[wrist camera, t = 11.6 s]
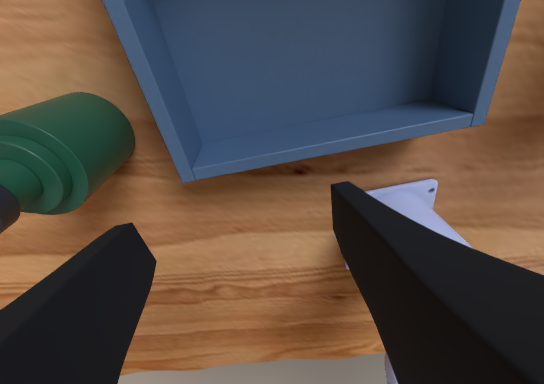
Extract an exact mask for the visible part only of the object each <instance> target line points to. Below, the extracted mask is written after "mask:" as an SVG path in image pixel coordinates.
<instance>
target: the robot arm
mask: <svg viewBox="0 0 544 384" xmlns="http://www.w3.org/2000/svg"><path fill="white" fill-rule="evenodd" d="M437 187H438V182H437V181H436V180H435V179H427V180H422V181H417V182H411V183H406V184H401V185H396V186H390V187H385V188H380V189H374V190H369V191H363V190H361V189H360V188H358V187H357V186H355V185H353V184H352V183H350V182H348V181H347V182H342V183H336V184H331V200H332V217H333V230H334V233H335V236H336V239H337V242H338V244H339V247H340V250H341V253H342V255H343V257H344V259H345V267H346V269H347V270H350V272H351V274H352V276H353V278H354V280H355V282H356V284H357V286H358V288H359V290H360V292H361V294H362V296H363V298H364V300H365V302H366V304H367V306H368V308H369V310H370V313H371V315H372V317H373V319H374V322H375V324H376V326H377V329H378V332H379V334H380V337H381V340H382V342H383V345H384V347H385V350H386V354H385V371H386V378H387V383H388V384H544V275H541V274H538V273H535V272H533V271H530V270H527V269H525V268H522V267H519V266H517V265H514V264H511V263H509V262H506V261H503V260H501V259H498V258H495V257H493V256H490V255H488V254H485V253H483V252H480V251H478V250H475V249H473V248H472V247H471V246H470V245H469V244H468V243H467V242H466V241H465V240H464V239H463V238H462V237H461V236H460V235H459V234H458V233H457V232H456V231H455V230H453V229H452V228H451V227H450V226H449V225H448V224H447V223H446V222H445V221H444V220H443V219H442V218H441V217H440V216H439V215H438V214H437V213H436V212H435V211H433V210H432V209H433V205H434V200H435V196H436V191H437ZM429 189H431V190H429ZM156 262H157V261H156V260H155V258H154V256H153V255H152V253H151V252H150V250H149V249H148V247H147V245H146V244H145V242H144V241H143V239H142V237H141V236H140V234H139V233H138V231H137V230H136V228H135V226H134V225H133V223H127V224H122V225H117V226H115V227H113V228H111V229H110V230H108V231H107V232H105V233H104V234H102V235H101V236H100V237H98V238H97V239H95V240H94V241H93V242H91V243H90V244H89V245H87V246H86V247H85V248H84V249H82V250H81V251H80V252H78V253H77V254H76V255H74V256H73V257H72V258H71V259H69V260H68V261H67V262H65V263H64V264H63V265H61V266H60V267H59V268H57V269H56V270H55V271H54V272H52V273H51V274H50V275H48V276H47V277H45V278H44V279H43V280H41V281H40V282H39V283H37V284H36V285H35V286H33V287H32V288H31V289H29V290H28V291H26V292H25V293H24V294H22V295H21V296H20V297H18V298H17V299H16V300H14V301H13V302H11V303H10V304H9V305H7V306H6V307H4V308H3V309H1V310H0V384H117V383H118V379H119V376H120V372H121V369H122V366H123V363H124V360H125V357H126V354H127V351H128V348H129V346H130V343H131V340H132V338H133V335H134V332H135V330H136V327H137V324H138V322H139V319H140V316H141V314H142V311H143V308H144V306H145V303H146V300H147V297H148V295H149V292H150V289H151V285H152V281H153V277H154V272H155V267H156Z"/></svg>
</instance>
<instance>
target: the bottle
mask: <svg viewBox="0 0 544 384" xmlns="http://www.w3.org/2000/svg"><path fill="white" fill-rule="evenodd" d="M134 144H135V138H134V133H133V130H132V127H131V125H130V123H129V121H128V120H127V118H126V117H125V116H124V114H123V113H122V112H121V111H120V110H119V109H118V108H117V107H115V106H114V105H113V104H112V103H110V102H108V101H107V100H105V99H103V98H101V97H99V96H96V95H93V94H89V93H82V92H76V93H70V94H66V95H63V96H60V97H57V98H54V99H50V100H47V101H44V102H41V103H38V104H35V105H31V106H28V107H25V108H22V109H19V110H15V111H12V112H9V113H6V114H3V115H0V234H1V233H2V232H3V231H4V230H6V229H7V228H8V227H9V226H11V225H12V224H13V223H15V222H16V221H17V220H18V218H19V216H20V211H21V212H27V213H37V214H46V215H57V214H63V213H67V212H70V211H73V210H75V209H76V208H78V207H79V206H80V205H82V204H83V203H84V202H85V201H86V200H87V199H88V198H89V197H90V196H91V195H92V194H93V193H94V192H95V191H96V190H97V189H98V188H99V187H100V186H101V185H102V184H103V183H104V182H105V181H106V180H107V179H108V178H109V177H110V176H111V175H112V174H113V173H114V172H115V171H116V170H117V169H118V168H119V167H120V166H121V165H122V164H123V163H124V162H125V161H126V160H127V159H128V158H129V157H130V155H131V154H132V152H133V149H134Z"/></svg>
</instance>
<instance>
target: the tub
mask: <svg viewBox="0 0 544 384" xmlns="http://www.w3.org/2000/svg"><path fill="white" fill-rule="evenodd" d="M102 1H103V3H104V5H105V8H106V10H107V12H108V14H109V17H110V19H111V21H112V24H113V26H114V28H115V30H116V33H117V35H118V37H119V40H120V42H121V44H122V46H123V49H124V51H125V53H126V55H127V58H128V60H129V62H130V65H131V67H132V69H133V71H134V74H135V76H136V78H137V81H138V83H139V85H140V87H141V90H142V92H143V94H144V96H145V99H146V101H147V103H148V106H149V108H150V110H151V112H152V115H153V117H154V119H155V122H156V124H157V126H158V128H159V131H160V133H161V135H162V137H163V140H164V142H165V144H166V147H167V149H168V151H169V153H170V156H171V158H172V160H173V163H174V165H175V167H176V169H177V172H178V174H179V176H180V178H181V181H182V183H187V182H193V181H196V180H201V179H206V178H212V177H217V176H222V175H227V174H232V173H237V172H242V171H247V170H253V169H258V168H263V167H268V166H273V165H278V164H283V163H289V162H294V161H299V160H304V159H309V158H314V157H319V156H324V155H330V154H335V153H340V152H345V151H350V150H355V149H360V148H365V147H371V146H376V145H381V144H386V143H391V142H396V141H401V140H406V139H412V138H417V137H422V136H427V135H432V134H437V133H442V132H447V131H453V130H458V129H463V128H468V127H474V126H479V125H483V124H484V123H485V120H486V116H487V113H488V109H489V106H490V103H491V99H492V96H493V92H494V89H495V86H496V82H497V79H498V75H499V72H500V69H501V65H502V62H503V58H504V55H505V52H506V48H507V45H508V42H509V38H510V35H511V31H512V28H513V25H514V21H515V18H516V14H517V11H518V8H519V4H520V1H521V0H102Z"/></svg>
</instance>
